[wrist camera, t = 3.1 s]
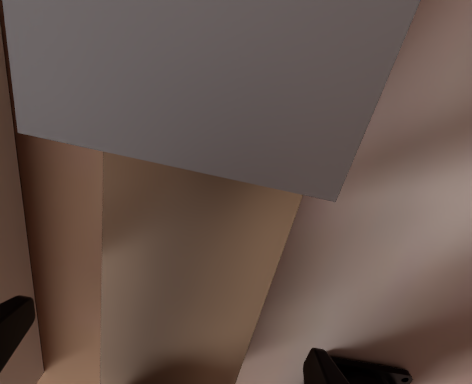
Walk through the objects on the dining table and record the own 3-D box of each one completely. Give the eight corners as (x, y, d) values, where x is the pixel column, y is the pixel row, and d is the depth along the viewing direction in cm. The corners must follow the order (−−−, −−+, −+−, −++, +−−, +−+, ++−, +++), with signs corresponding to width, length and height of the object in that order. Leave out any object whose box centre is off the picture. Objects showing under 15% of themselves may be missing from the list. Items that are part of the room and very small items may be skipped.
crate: (339, -38, 5) (552, -313, 2) (285, 141, 7) (335, 201, 3) (156, -91, 5) (-64, -549, 1) (141, 108, 7) (17, 133, 3)
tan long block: (333, -24, 9) (420, -131, 5) (215, 369, 19) (206, 462, 14) (176, -68, 9) (109, -229, 4) (135, 356, 18) (99, 447, 14)
